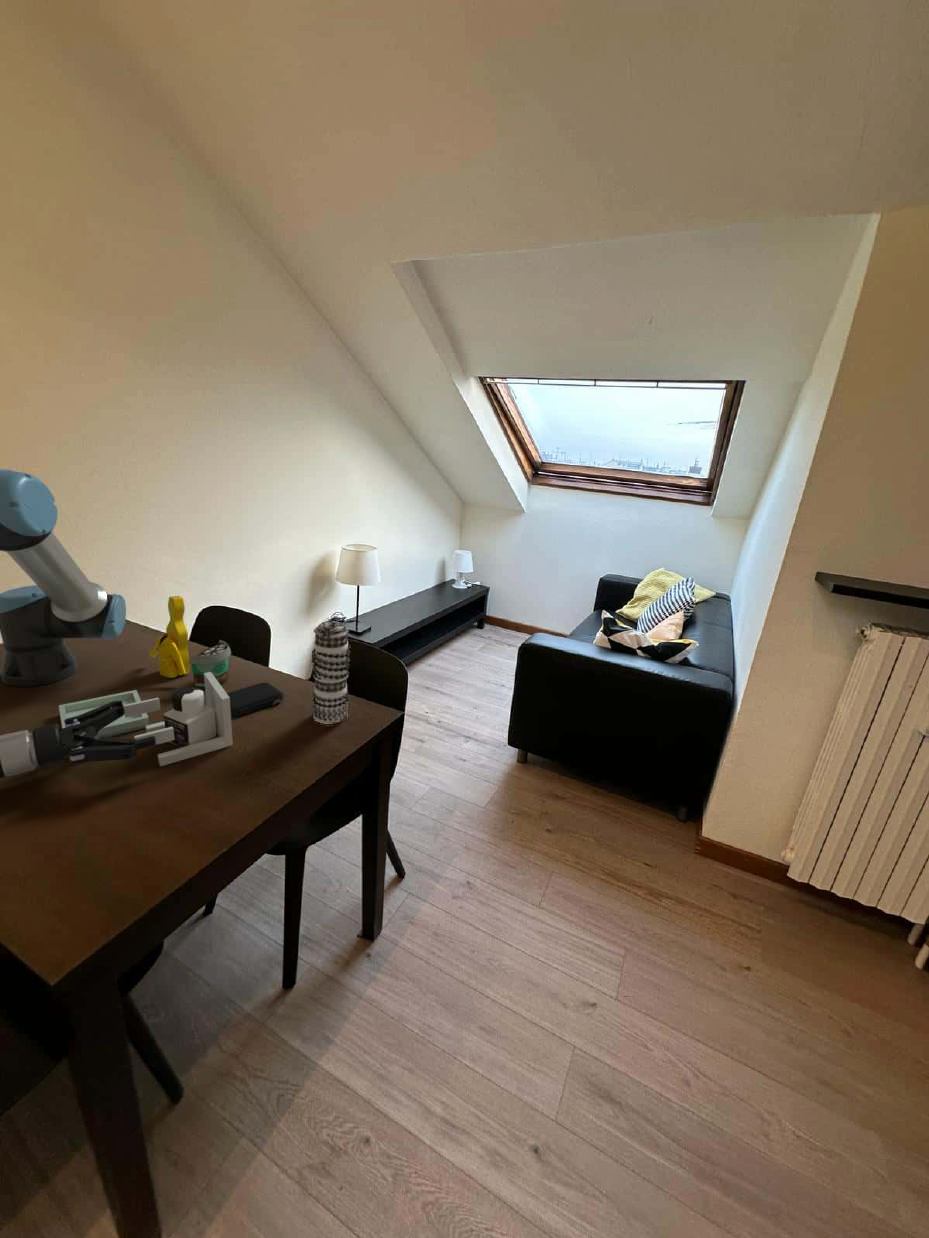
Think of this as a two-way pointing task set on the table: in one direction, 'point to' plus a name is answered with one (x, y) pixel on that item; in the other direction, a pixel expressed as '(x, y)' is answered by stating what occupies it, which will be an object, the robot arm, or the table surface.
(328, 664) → the decorative candle
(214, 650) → the food container
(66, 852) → the table surface
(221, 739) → the bay
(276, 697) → the carrying case or bag
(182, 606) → the figure statuette
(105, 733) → the tray
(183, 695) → the medicine bottle
